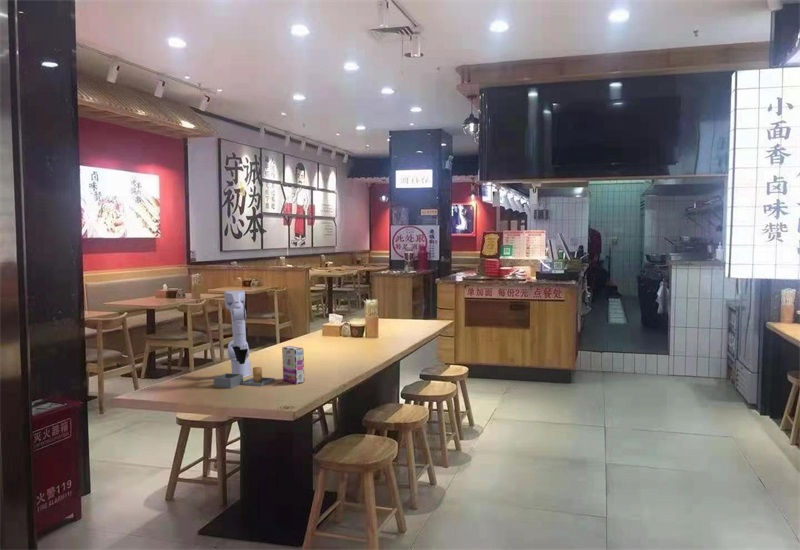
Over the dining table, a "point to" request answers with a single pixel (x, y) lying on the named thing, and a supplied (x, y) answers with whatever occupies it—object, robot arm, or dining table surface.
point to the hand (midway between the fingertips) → (240, 362)
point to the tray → (264, 381)
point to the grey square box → (228, 380)
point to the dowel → (257, 375)
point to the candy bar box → (293, 364)
